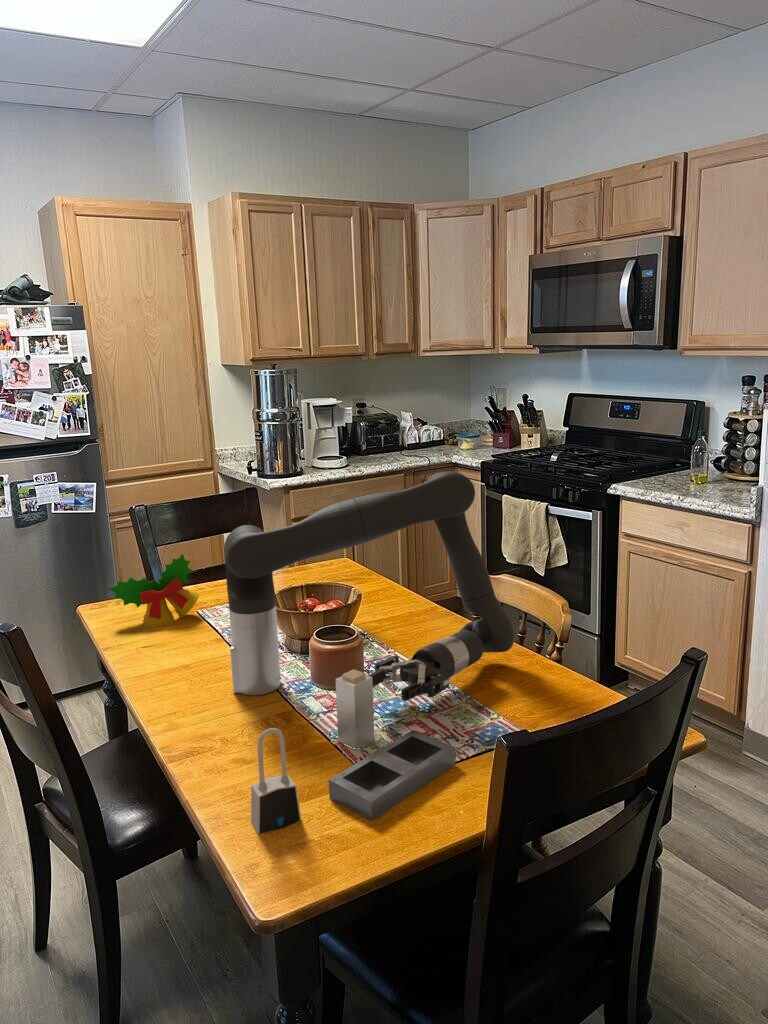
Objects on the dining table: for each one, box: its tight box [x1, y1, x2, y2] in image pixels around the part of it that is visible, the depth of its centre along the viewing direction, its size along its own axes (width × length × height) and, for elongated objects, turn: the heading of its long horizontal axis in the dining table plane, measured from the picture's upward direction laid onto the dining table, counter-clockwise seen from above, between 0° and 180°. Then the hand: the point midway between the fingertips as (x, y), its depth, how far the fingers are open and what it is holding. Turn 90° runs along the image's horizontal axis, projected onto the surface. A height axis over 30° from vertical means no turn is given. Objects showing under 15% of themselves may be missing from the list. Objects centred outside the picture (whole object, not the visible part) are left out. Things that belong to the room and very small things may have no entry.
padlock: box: [250, 727, 302, 835], centre depth 114 cm, size 7×4×15 cm, turn 117°
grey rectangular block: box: [335, 668, 375, 749], centre depth 136 cm, size 4×4×13 cm
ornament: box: [108, 553, 200, 628], centre depth 196 cm, size 21×8×15 cm, turn 108°
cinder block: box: [328, 729, 456, 822], centre depth 124 cm, size 20×9×3 cm, turn 137°
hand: (385, 688), depth 141 cm, fingers open, 8 cm apart
